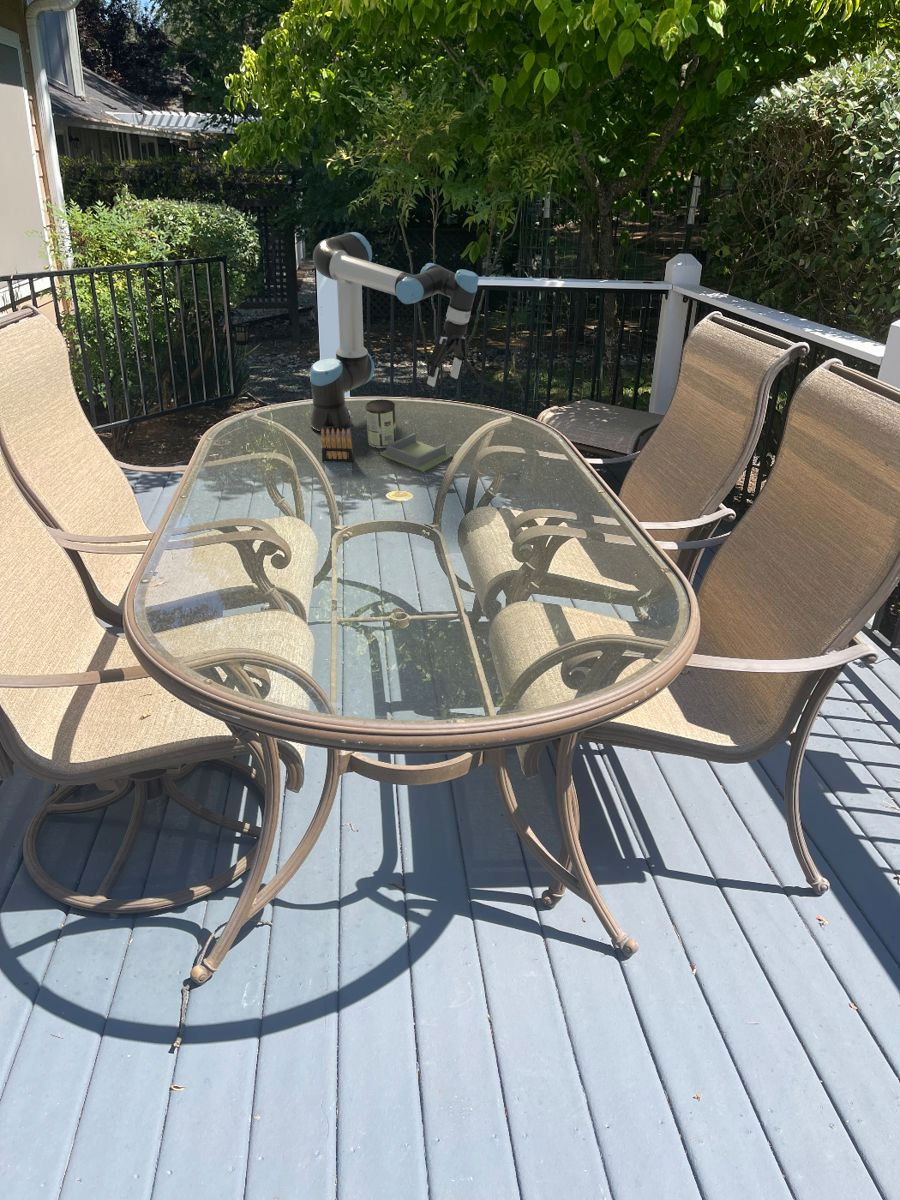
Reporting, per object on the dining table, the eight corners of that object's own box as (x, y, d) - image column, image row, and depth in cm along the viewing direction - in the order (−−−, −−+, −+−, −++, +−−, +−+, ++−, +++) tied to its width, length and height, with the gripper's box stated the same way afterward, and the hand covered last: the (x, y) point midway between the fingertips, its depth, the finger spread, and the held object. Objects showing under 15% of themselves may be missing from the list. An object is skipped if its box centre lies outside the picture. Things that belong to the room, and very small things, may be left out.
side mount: (380, 455, 305) (379, 444, 303) (410, 441, 314) (409, 430, 312) (423, 471, 294) (422, 460, 292) (452, 456, 304) (452, 446, 301)
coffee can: (379, 434, 320) (376, 397, 312) (402, 440, 315) (400, 402, 307) (361, 444, 313) (359, 406, 305) (385, 450, 308) (383, 412, 300)
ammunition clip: (322, 461, 301) (319, 429, 294) (323, 459, 303) (320, 426, 296) (353, 462, 301) (350, 429, 294) (354, 460, 302) (351, 427, 295)
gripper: (444, 330, 275) (429, 393, 287) (486, 319, 293) (471, 378, 306) (425, 321, 278) (411, 383, 290) (468, 310, 296) (454, 369, 308)
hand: (442, 381), depth 298 cm, fingers open, 13 cm apart
